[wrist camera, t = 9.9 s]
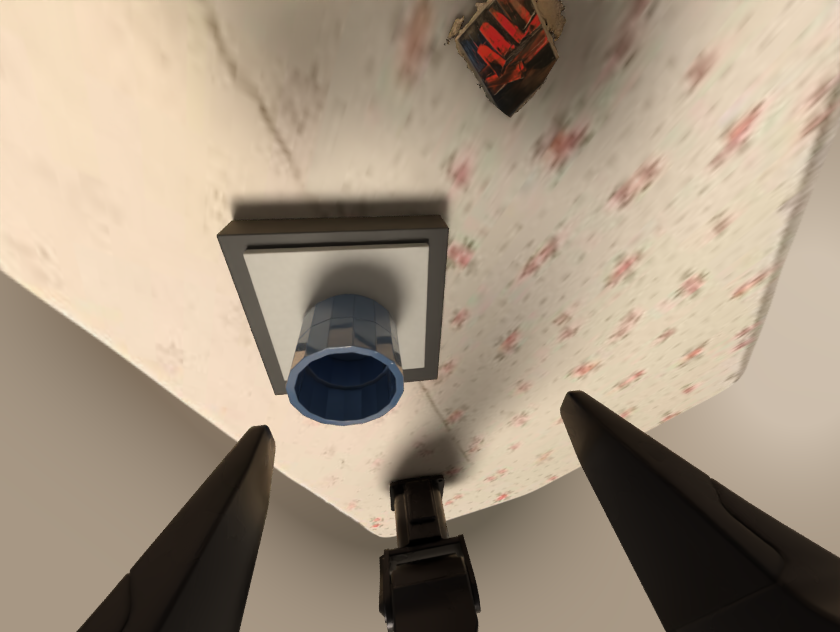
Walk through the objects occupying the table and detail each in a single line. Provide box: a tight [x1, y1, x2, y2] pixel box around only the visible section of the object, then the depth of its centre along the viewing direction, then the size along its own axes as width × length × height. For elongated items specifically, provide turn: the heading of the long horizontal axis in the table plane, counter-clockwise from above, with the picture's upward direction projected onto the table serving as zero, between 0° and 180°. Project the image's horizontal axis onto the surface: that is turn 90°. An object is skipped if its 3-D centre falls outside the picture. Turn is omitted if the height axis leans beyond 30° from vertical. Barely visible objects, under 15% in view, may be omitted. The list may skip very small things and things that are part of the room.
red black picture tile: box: [444, 0, 566, 117], centre depth 14 cm, size 5×5×1 cm
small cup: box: [285, 294, 404, 426], centre depth 17 cm, size 6×6×5 cm
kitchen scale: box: [217, 215, 449, 395], centre depth 20 cm, size 12×12×3 cm
